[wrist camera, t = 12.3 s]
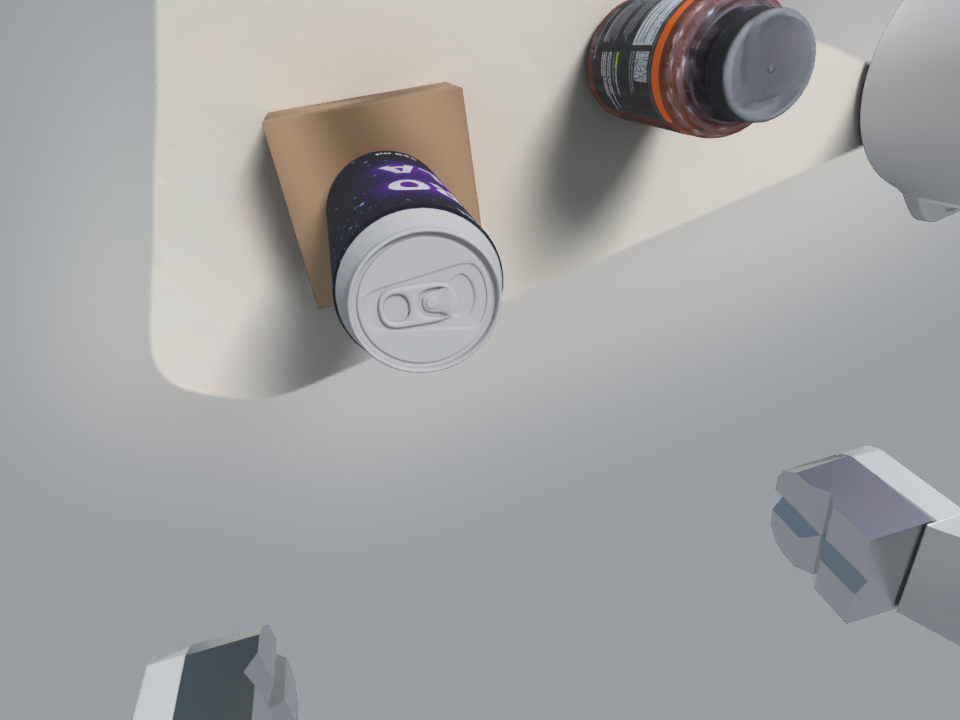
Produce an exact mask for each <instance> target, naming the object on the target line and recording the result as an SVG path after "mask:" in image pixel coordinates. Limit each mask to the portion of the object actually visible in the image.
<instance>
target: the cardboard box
mask: <svg viewBox="0 0 960 720" xmlns="http://www.w3.org/2000/svg"><path fill="white" fill-rule="evenodd" d="M262 126H263V129H264V132H265V135H266V139H267V142H268V145H269V149H270V152H271V155H272V158H273V162H274V165H275V168H276V172H277V175H278V178H279V181H280V185H281V188H282V191H283V195H284V198H285V201H286V204H287V208H288V211H289V214H290V218H291V221H292V224H293V227H294V231H295V234H296V237H297V241H298V244H299V247H300V250H301V254H302V257H303V260H304V264H305V267H306V270H307V273H308V277H309V280H310V283H311V287H312V290H313V293H314V296H315V300H316V303H317V306H318V309H321V308H325V307H330V306H334V300H333V291H332V279H331V266H330V253H329V241H328V228H327V215H326V205H327V198H328V194H329V191H330V188H331V186H332V184H333V182H334V180H335V178H336V177H337V175H338V174H339V173H340V171H341V170H342V169H343V168H344V167H345V166H346V165H348V164H349V163H350V162H351V161H353V160H355V159H356V158H358V157H360V156H362V155H365V154H368V153H371V152H376V151H397V152H401V153H405V154H408V155H410V156H412V157H414V158H416V159H418V160H420V161H421V162H423V163H424V164H425V165H426V166H427V167H429V168H430V169H431V171H432V172H433V173H434V174H435V175H436V176H437V177H438V178H439V180H440V181H441V182H442V183H443V184H444V185H445V186H446V188H447V189H448V190H449V191H450V192H451V193H452V194H453V196H454V197H455V198H456V199H457V200H458V201H459V202H460V204H461V205H462V206H463V207H464V208H465V209H466V211H467V212H468V213H469V214H470V215H471V216H472V217H473V219H474V220H475V221H476V222H477V223H478V224H479V225H480V227H481V221H480V214H479V207H478V199H477V192H476V185H475V178H474V170H473V163H472V156H471V148H470V141H469V134H468V127H467V119H466V112H465V105H464V97H463V90H462V88H461V87H458V86H455V85H452V84H450V83H447V82H442V83H436V84H431V85H425V86H419V87H414V88H408V89H402V90H396V91H391V92H385V93H379V94H373V95H368V96H362V97H356V98H350V99H345V100H339V101H333V102H327V103H322V104H316V105H310V106H304V107H299V108H293V109H287V110H281V111H276V112H270V113H267V115H266V117H265V119H264V120H263V122H262Z"/></svg>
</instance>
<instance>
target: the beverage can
mask: <svg viewBox="0 0 960 720" xmlns="http://www.w3.org/2000/svg"><path fill="white" fill-rule="evenodd" d="M326 215H327V228H328V241H329V253H330V266H331V279H332V291H333V300H334V305H335V309H336V312H337V315H338V318H339V320H340V322H341V324H342V326H343V327H344V329H345V330H346V332H347V333H348V334H349V336H350V337H351V338H352V339H353V340H354V341H355V342H356V343H357V344H358V345H359V346H360V347H362V348H363V349H364V350H366V351H367V352H368V353H369V354H370V355H371V356H373V357H374V358H375V359H377V360H378V361H380V362H381V363H383V364H385V365H387V366H389V367H392V368H395V369H398V370H402V371H406V372H415V373H425V372H434V371H439V370H444V369H446V368H449V367H452V366H454V365H456V364H458V363H460V362H462V361H464V360H465V359H467V358H468V357H470V356H471V355H472V354H474V353H475V352H476V351H477V350H478V349H479V348H480V347H481V346H482V345H483V344H484V343H485V341H486V340H487V339H488V338H489V336H490V334H491V333H492V331H493V329H494V328H495V325H496V323H497V320H498V318H499V314H500V309H501V304H502V290H503V271H502V265H501V261H500V258H499V255H498V252H497V250H496V248H495V246H494V244H493V242H492V241H491V239H490V238H489V236H488V235H487V234H486V232H485V231H484V230H483V229H482V228H481V227H480V225H479V224H478V223H477V222H476V221H475V220H474V219H473V217H472V216H471V215H470V214H469V213H468V212H467V211H466V209H465V208H464V207H463V206H462V205H461V204H460V202H459V201H458V200H457V199H456V198H455V197H454V196H453V194H452V193H451V192H450V191H449V190H448V189H447V188H446V186H445V185H444V184H443V183H442V182H441V181H440V180H439V178H438V177H437V176H436V175H435V174H434V173H433V172H432V171H431V169H430V168H429V167H427V166H426V165H425V164H424V163H423V162H421V161H420V160H418V159H416V158H414V157H412V156H410V155H408V154H405V153H401V152H397V151H376V152H371V153H368V154H365V155H362V156H360V157H358V158H356V159H355V160H353V161H351V162H350V163H349V164H348V165H346V166H345V167H344V168H343V169H342V170H341V171H340V173H339V174H338V175H337V177H336V178H335V180H334V182H333V184H332V186H331V188H330V191H329V194H328V198H327V205H326Z"/></svg>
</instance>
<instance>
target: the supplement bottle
mask: <svg viewBox="0 0 960 720" xmlns="http://www.w3.org/2000/svg"><path fill="white" fill-rule="evenodd" d="M815 55H816V43H815V37H814V34H813V31H812V28H811V26H810V24H809V22H808V21H807V20H806V18H805V17H803V16H802V15H801V14H800V13H798V12H797V11H795V10H793V9H790V8H784V7H782V6H781V5H780V4H779V2H778V1H777V0H627V1H625V2H623V3H621V4H620V5H618V6H617V7H616V8H614V9H613V10H612V11H611V12H610V13H609V14H608V15H607V16H606V17H605V18H604V20H603V21H602V23H601V24H600V25H599V27H598V29H597V30H596V32H595V34H594V37H593V39H592V42H591V46H590V50H589V55H588V77H589V82H590V86H591V89H592V91H593V93H594V95H595V97H596V99H597V100H598V102H599V103H600V104H601V105H602V106H603V107H604V108H605V109H606V110H607V111H609V112H610V113H612V114H613V115H615V116H617V117H620V118H623V119H625V120H630V121H634V122H638V123H641V124H646V125H650V126H654V127H658V128H662V129H666V130H671V131H675V132H678V133H682V134H687V135H691V136H696V137H701V138H719V137H725V136H728V135H731V134H734V133H737V132H739V131H741V130H742V129H744V128H746V127H748V126H749V125H750V124H752V123H756V122H765V121H769V120H771V119H774V118H776V117H778V116H779V115H781V114H782V113H784V112H785V111H786V110H788V109H789V108H790V107H791V106H792V105H793V104H794V103H795V102H796V101H797V99H798V98H799V97H800V96H801V94H802V93H803V91H804V89H805V88H806V86H807V84H808V82H809V80H810V77H811V74H812V71H813V68H814V62H815Z"/></svg>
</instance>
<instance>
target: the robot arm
mask: <svg viewBox="0 0 960 720" xmlns="http://www.w3.org/2000/svg"><path fill="white" fill-rule="evenodd" d="M860 126H861V136H862V142H863V146H864V149H865V153H866V155H867V158H868V160H869V162H870V164H871V165H872V167H873V168H874V170H875V171H876V172H877V174H878V175H879V176H880V177H881V178H883V179H884V180H885V181H887V182H888V183H890V184H891V185H893V186H894V187H896V188H897V189H898V190H900V191H901V193H902V194H903V196H904V199H905V202H906V204H907V207H908V209H909V211H910V213H911V215H912V216H913V217H914V218H915V219H917V220H923V221H928V222H934V221H937V220H940V219H942V218H944V217H947V216H949V215H951V214H954V213H956V212H958V211H960V0H904V1H903V2H902V4H901V5H900V7H899V8H898V9H897V11H896V12H895V14H894V15H893V17H892V19H891V20H890V22H889V24H888V26H887V28H886V29H885V31H884V33H883V35H882V37H881V39H880V41H879V43H878V46H877V48H876V51H875V53H874V55H873V58H872V61H871V63H870V67H869V70H868V73H867V77H866V80H865V84H864V89H863V95H862V101H861V113H860ZM776 490H777V491H778V492H779V493H780V494H781V496H782V498H781V499H780V501H779V502H778V503H777V504H776V506H775V507H774V508H773V510H772V518H771V527H772V530H773V534H774V537H775V540H776V542H777V544H778V546H779V547H780V549H781V551H782V552H783V554H784V555H785V556H786V557H787V558H788V559H789V561H790V562H791V563H792V564H793V565H794V566H795V567H798V568H800V569H802V570H804V571H807V572H809V573H811V574H813V581H814V589H815V590H816V591H817V592H818V593H819V594H820V595H821V596H822V597H823V599H824V600H825V601H826V602H827V603H828V604H829V605H830V606H831V607H832V608H833V609H834V611H835V612H836V613H837V614H838V615H839V616H840V617H841V618H842V619H843V620H844V622H846V624H847V623H850V622H853V621H857V620H860V619H863V618H866V617H869V616H873V615H876V614H880V613H883V612H886V611H889V610H893V609H896V608H897V612H898V613H900V614H902V615H904V616H906V617H908V618H909V619H911V620H913V621H915V622H917V623H919V624H920V625H922V626H924V627H926V628H928V629H930V630H932V631H933V632H935V633H937V634H939V635H941V636H943V637H944V638H946V639H948V640H950V641H952V642H954V643H956V644H957V645H959V646H960V508H959V507H958V506H957V505H955V504H954V503H953V502H951V501H950V500H949V499H947V498H946V497H945V496H943V495H942V494H940V493H939V492H938V491H936V490H935V489H934V488H932V487H931V486H930V485H928V484H927V483H925V482H924V481H923V480H921V479H920V478H919V477H917V476H916V475H914V474H913V473H912V472H910V471H909V470H908V469H906V468H905V467H903V466H902V465H901V464H899V463H898V462H897V461H895V460H894V459H892V458H891V457H890V456H888V455H887V454H886V453H884V452H883V451H882V450H880V449H877V448H875V447H872V446H869V445H868V446H865V447H861V448H858V449H855V450H851V451H848V452H845V453H841V454H839V455H833V456H829V457H826V458H823V459H820V460H816V461H813V462H810V463H807V464H804V465H801V466H797V467H794V468H791V469H788V470H785V471H783V472H782V473H781V474H780V476H779V477H778V480H777V485H776ZM132 720H298V701H297V692H296V684H295V680H294V676H293V673H292V670H291V667H290V665H289V663H288V661H287V659H286V657H283V656H281V655H278V654H276V637H275V636H274V634H273V632H272V630H271V629H270V627H269V625H263V626H259V627H256V628H252V629H248V630H245V631H241V632H238V633H233V634H230V635H226V636H222V637H218V638H215V639H211V640H207V641H203V642H200V643H196V644H192V645H189V646H186V647H182V648H179V649H175V650H172V651H168V652H165V653H161V654H157V655H154V657H153V658H152V659H151V661H150V663H149V664H148V666H147V667H146V669H145V673H144V676H143V681H142V684H141V688H140V692H139V695H138V699H137V703H136V706H135V710H134V714H133V718H132Z"/></svg>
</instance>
